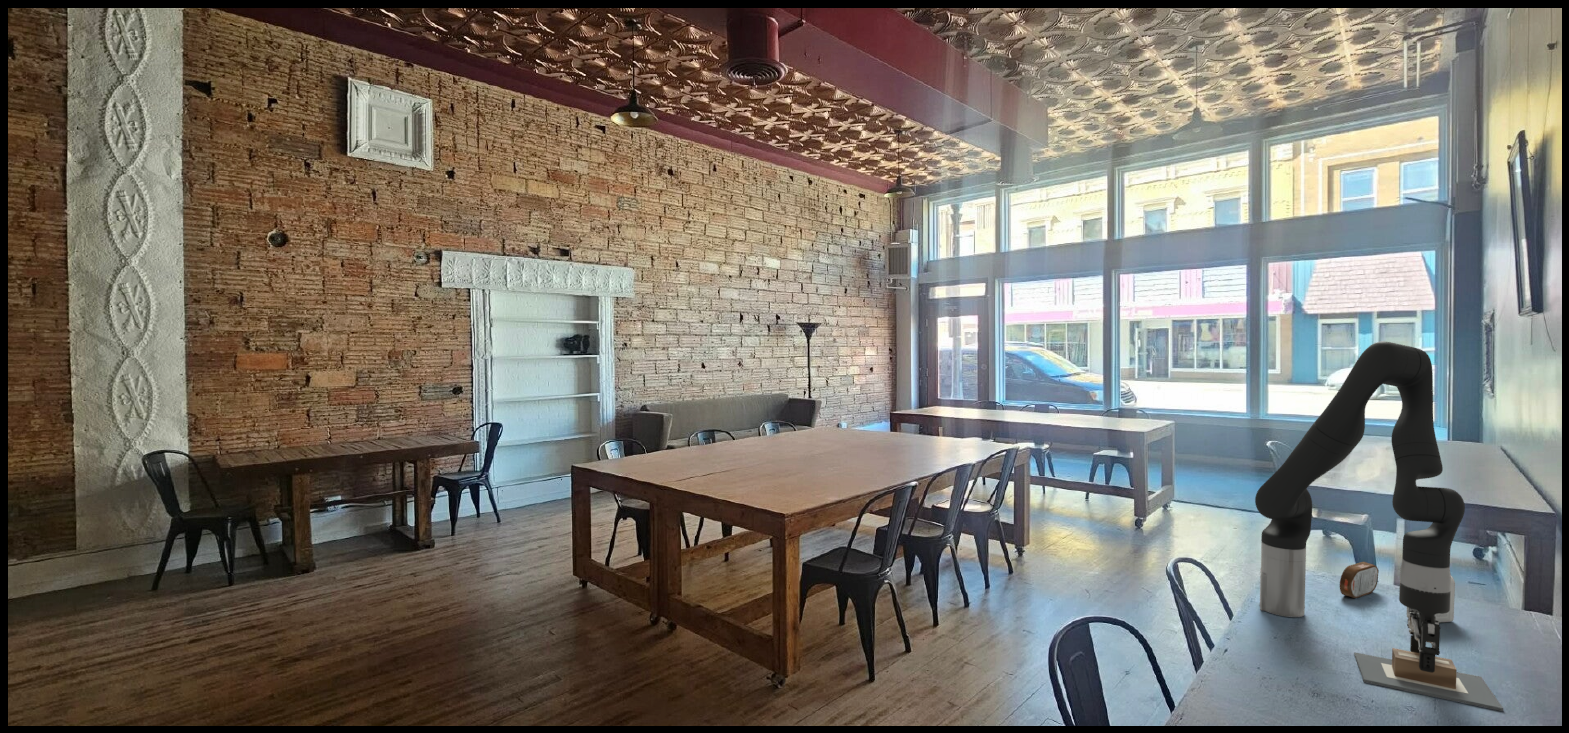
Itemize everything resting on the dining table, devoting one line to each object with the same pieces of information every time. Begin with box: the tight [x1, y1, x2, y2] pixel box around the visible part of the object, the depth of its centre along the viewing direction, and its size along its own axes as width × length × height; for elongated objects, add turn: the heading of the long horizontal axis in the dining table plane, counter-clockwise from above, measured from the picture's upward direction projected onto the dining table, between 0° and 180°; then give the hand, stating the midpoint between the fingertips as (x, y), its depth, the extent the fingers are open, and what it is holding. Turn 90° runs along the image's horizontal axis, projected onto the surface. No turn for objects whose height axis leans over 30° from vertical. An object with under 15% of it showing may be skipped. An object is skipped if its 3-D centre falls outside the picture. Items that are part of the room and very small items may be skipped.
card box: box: [1391, 647, 1457, 689], centre depth 138 cm, size 5×9×4 cm, turn 53°
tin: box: [1339, 561, 1379, 599], centre depth 183 cm, size 15×3×8 cm, turn 116°
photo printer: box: [1406, 575, 1456, 623], centre depth 167 cm, size 10×4×12 cm, turn 98°
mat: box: [1353, 651, 1504, 712], centre depth 138 cm, size 20×14×1 cm
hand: (1421, 662), depth 138 cm, fingers open, 8 cm apart
